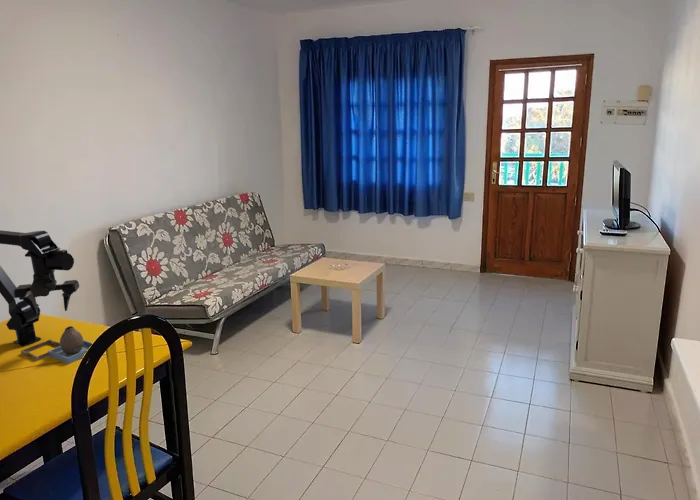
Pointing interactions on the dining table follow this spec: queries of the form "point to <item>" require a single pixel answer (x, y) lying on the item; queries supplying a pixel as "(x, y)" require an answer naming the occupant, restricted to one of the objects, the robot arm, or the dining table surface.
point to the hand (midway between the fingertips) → (51, 312)
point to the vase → (71, 341)
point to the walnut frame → (25, 351)
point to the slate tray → (69, 358)
